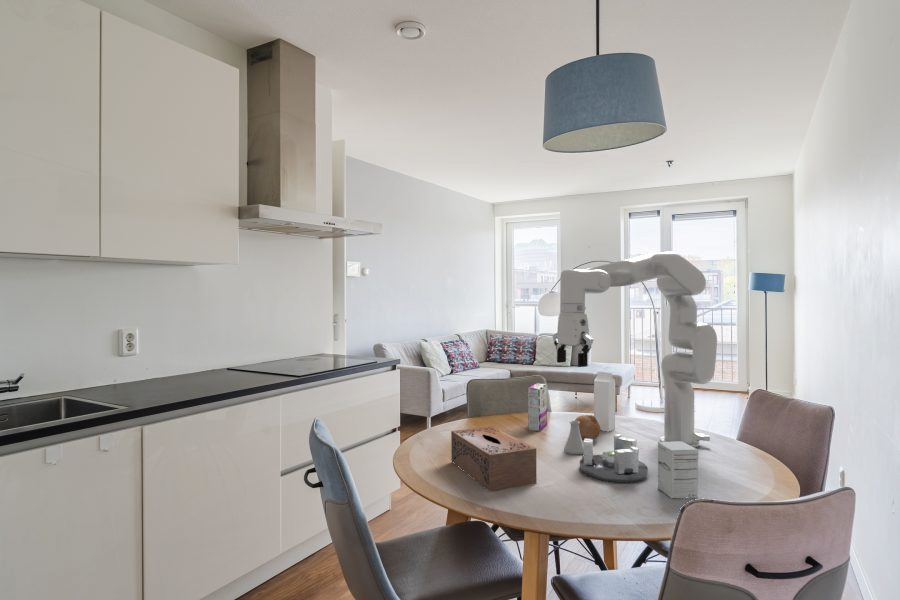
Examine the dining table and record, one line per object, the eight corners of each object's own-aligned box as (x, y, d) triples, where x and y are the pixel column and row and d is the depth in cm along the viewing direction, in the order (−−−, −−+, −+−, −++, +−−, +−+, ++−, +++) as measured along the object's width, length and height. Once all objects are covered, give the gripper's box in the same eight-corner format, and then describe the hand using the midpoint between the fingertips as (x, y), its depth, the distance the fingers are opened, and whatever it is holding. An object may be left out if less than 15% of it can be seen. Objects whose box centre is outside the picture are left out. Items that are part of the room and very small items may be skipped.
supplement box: (656, 488, 136) (656, 441, 136) (683, 487, 137) (683, 440, 136) (671, 499, 129) (671, 449, 128) (699, 498, 129) (699, 448, 129)
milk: (608, 432, 191) (608, 374, 191) (593, 429, 195) (593, 372, 195) (615, 429, 196) (615, 372, 195) (600, 426, 200) (600, 370, 199)
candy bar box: (535, 423, 204) (535, 383, 204) (547, 425, 202) (547, 383, 202) (527, 430, 194) (527, 387, 194) (540, 431, 192) (539, 388, 192)
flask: (586, 455, 163) (586, 425, 163) (563, 454, 165) (563, 423, 165) (585, 449, 171) (585, 419, 170) (563, 448, 172) (563, 418, 172)
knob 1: (631, 462, 150) (631, 440, 150) (612, 457, 155) (612, 435, 155) (637, 459, 153) (637, 437, 152) (618, 454, 157) (618, 433, 157)
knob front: (594, 458, 153) (594, 437, 153) (594, 465, 147) (594, 442, 147) (582, 457, 154) (582, 436, 154) (581, 464, 149) (581, 441, 148)
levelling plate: (645, 464, 155) (645, 446, 155) (650, 486, 137) (650, 466, 137) (581, 458, 161) (581, 441, 161) (577, 479, 143) (577, 459, 143)
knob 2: (613, 470, 143) (613, 447, 143) (632, 468, 144) (632, 445, 144) (620, 474, 140) (620, 451, 140) (639, 473, 141) (639, 449, 141)
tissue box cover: (451, 463, 158) (451, 431, 158) (492, 457, 163) (492, 426, 163) (489, 492, 134) (489, 455, 134) (536, 484, 140) (536, 448, 140)
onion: (597, 449, 181) (610, 425, 179) (580, 446, 175) (593, 421, 174) (580, 433, 188) (592, 410, 187) (563, 430, 183) (575, 406, 182)
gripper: (601, 310, 152) (600, 367, 152) (563, 308, 167) (562, 360, 168) (582, 310, 149) (581, 368, 149) (545, 308, 164) (544, 361, 164)
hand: (571, 364), depth 158 cm, fingers open, 9 cm apart
